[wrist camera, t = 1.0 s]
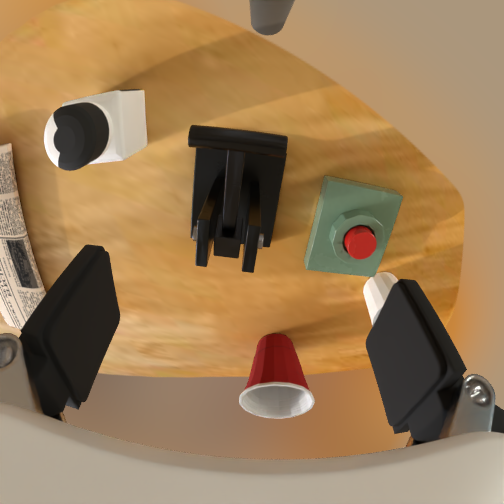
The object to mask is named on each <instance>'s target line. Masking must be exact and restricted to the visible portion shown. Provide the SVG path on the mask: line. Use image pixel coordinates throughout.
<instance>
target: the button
mask: <svg viewBox="0 0 504 504" xmlns="http://www.w3.org/2000/svg"><path fill="white" fill-rule="evenodd" d="M344 244H345V247H346V249H347V251H348V253H349V254H350V256H351V257H353V258H355V259H359V260H360V259H365V258H368V257H369V256H371V255H372V254H373V252H374V251H375V249H376V245H377V241H376V238H375V237H374V235H373V234H372V232H371V231H370V230H369V229H368V228H367V227H364V226H356V227H353V228H352V229H350V230H349V231H348V232H347V234H346V236H345V239H344Z"/></svg>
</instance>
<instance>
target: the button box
mask: <svg viewBox="0 0 504 504" xmlns="http://www.w3.org/2000/svg"><path fill="white" fill-rule="evenodd" d="M402 199H403V196H402V195H401V194H400V193H398V192H397V191H396V190H392V189H387V188H383V187H379V186H374V185H370V184H365V183H361V182H356V181H351V180H346V179H341V178H336V177H331V176H326V175H324V179H323V184H322V188H321V193H320V197H319V201H318V205H317V210H316V214H315V218H314V222H313V226H312V230H311V234H310V238H309V242H308V246H307V250H306V254H305V258H304V263H305V267H306V270H314V271H322V272H331V273H340V274H349V275H358V276H367V277H375V274H376V272H377V269H378V267H379V264H380V262H381V259H382V256H383V254H384V251H385V248H386V246H387V243H388V240H389V237H390V235H391V232H392V229H393V226H394V223H395V220H396V217H397V214H398V211H399V208H400V205H401V202H402ZM356 226H364V227H367V228H368V229H369V230H370V231H371V232H372V234H373V235H374V237H375V238H376V241H377V245H376V249H375V251H374V252H373V254H372V255H371V256H369V257H368V258H365V259H360V260H359V259H355V258H353V257H351V256H350V254H349V253H348V251H347V249H346V247H345V244H344V239H345V236H346V234H347V232H348V231H349V230H350V229H352V228H353V227H356Z"/></svg>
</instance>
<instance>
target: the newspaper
mask: <svg viewBox="0 0 504 504" xmlns="http://www.w3.org/2000/svg"><path fill="white" fill-rule="evenodd" d="M45 295H46V292H45V289H44V286H43V283H42V281H41V278H40V275H39V272H38V269H37V266H36V262H35V259H34V256H33V252H32V249H31V246H30V242H29V238H28V234H27V231H26V227H25V222H24V218H23V214H22V209H21V205H20V200H19V194H18V189H17V183H16V177H15V171H14V163H13V156H12V147H11V143H7V144H2V145H0V311H1V313H2V315H3V317H4V319H5V321H6V323H7V324H8V325H10V326H13V327H15V328H18V329H20V330H21V329H22V327H23V326H24V324H25V323H26V321H27V320H28V319H29V317H30V316H31V314H32V313H33V311H34V310H35V309H36V307H37V306H38V304H39V303H40V302H41V300H42V299H43V298H44V296H45Z"/></svg>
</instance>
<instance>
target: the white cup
mask: <svg viewBox="0 0 504 504" xmlns="http://www.w3.org/2000/svg"><path fill="white" fill-rule="evenodd" d="M397 281H398V280H397V278H396V277H395V276H394V275H393V274H392V273H389V272H380V273H377V274H375V277H371V278H370V279H369V280H368V281H367V282H366V284H365V286H364V290H363V294H364V297H365V300H366V304H367V307H368V311H369V314H370V318H371V322H372V325H374V323H375V321H376V319H377V317H378V315H379V313H380V311H381V309H382V307H383V305H384V303H385V301H386V299H387V296H388V294H389V292H390V290H391V288H392V286H393V284H394V283H397Z"/></svg>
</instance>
